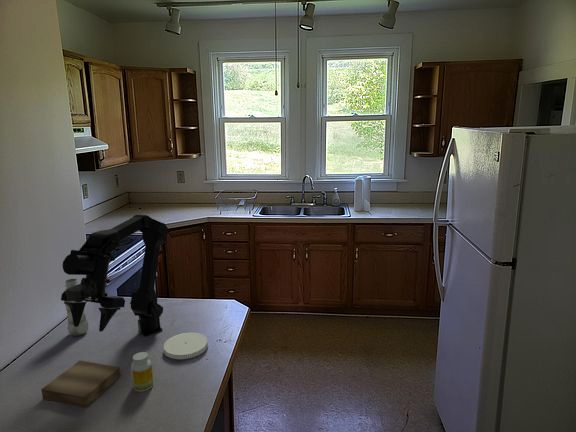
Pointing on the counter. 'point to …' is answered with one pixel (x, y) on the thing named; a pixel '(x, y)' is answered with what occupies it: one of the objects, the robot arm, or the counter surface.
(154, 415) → the counter surface
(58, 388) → the walnut plinth
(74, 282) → the plastic bottle
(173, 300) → the counter surface
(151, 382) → the supplement bottle
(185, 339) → the plastic lid
